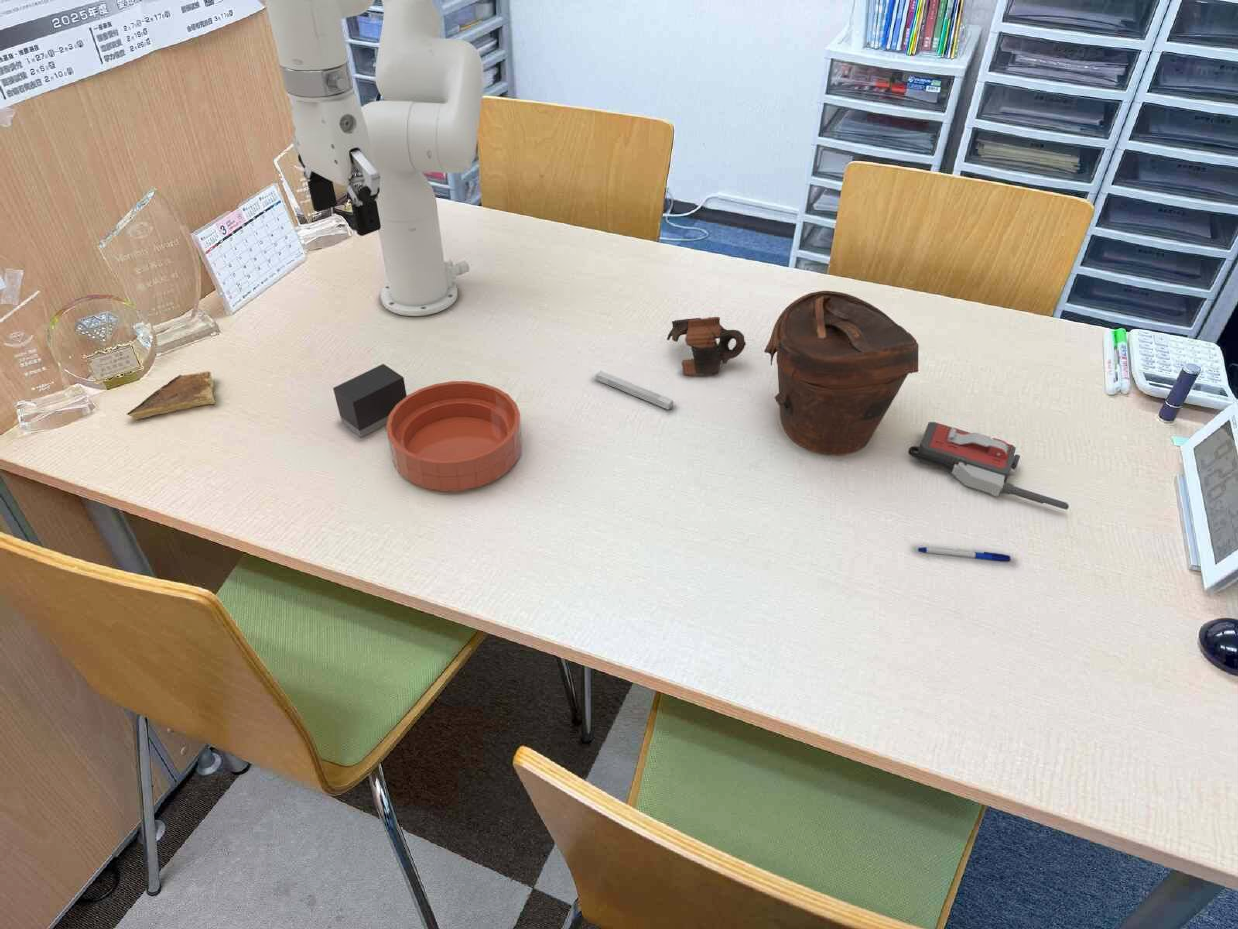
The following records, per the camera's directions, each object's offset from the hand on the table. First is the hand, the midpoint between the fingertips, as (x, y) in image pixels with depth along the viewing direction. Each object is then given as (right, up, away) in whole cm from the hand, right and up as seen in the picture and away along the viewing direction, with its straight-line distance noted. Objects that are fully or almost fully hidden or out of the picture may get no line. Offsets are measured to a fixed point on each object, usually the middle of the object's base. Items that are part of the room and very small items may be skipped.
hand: (347, 219), depth 106 cm
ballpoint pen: (+76, -42, -8) cm, 87 cm away
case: (+64, -26, +10) cm, 69 cm away
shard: (-26, -23, +10) cm, 36 cm away
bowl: (+14, -30, +3) cm, 33 cm away
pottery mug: (+48, -16, +21) cm, 55 cm away
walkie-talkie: (+83, -33, +3) cm, 89 cm away
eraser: (+1, -25, +8) cm, 26 cm away
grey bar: (+37, -21, +14) cm, 45 cm away
